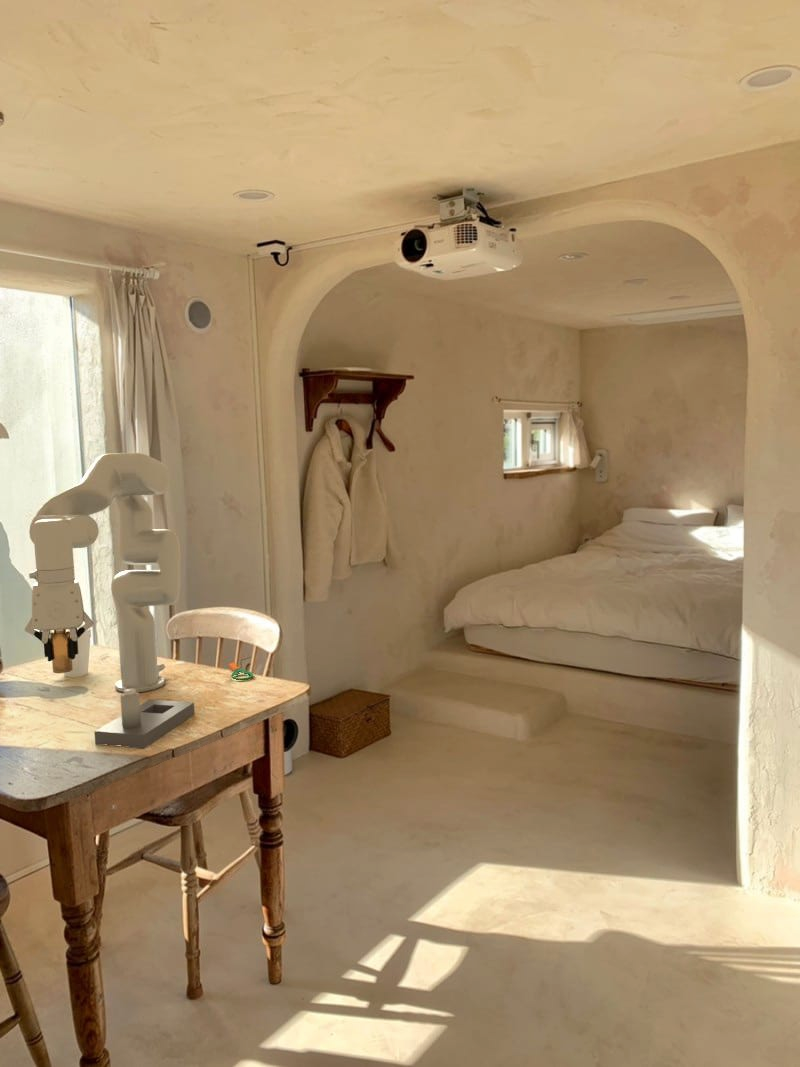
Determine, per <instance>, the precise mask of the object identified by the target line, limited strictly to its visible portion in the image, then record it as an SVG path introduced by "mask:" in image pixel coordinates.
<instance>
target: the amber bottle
mask: <svg viewBox="0 0 800 1067" xmlns="http://www.w3.org/2000/svg"><path fill="white" fill-rule="evenodd" d="M49 638H50V639H51V651H52V661H51V662H52V663H51V664H52V673H54V674H64V673H66V672H70V671H72V670H73V666H72V659H71V658H70V644H69V642H70V641H71V639H70V631H69V630H66V629H59V630H52V631H50V637H49Z"/></svg>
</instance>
